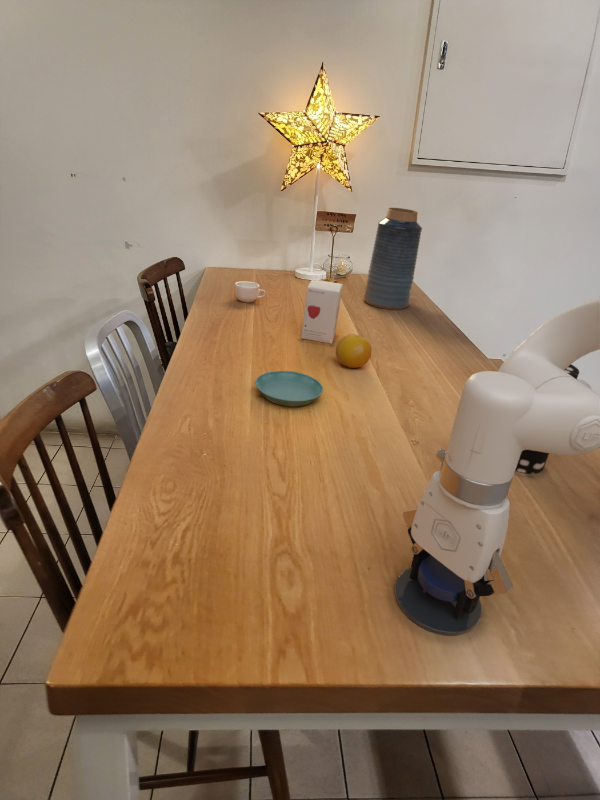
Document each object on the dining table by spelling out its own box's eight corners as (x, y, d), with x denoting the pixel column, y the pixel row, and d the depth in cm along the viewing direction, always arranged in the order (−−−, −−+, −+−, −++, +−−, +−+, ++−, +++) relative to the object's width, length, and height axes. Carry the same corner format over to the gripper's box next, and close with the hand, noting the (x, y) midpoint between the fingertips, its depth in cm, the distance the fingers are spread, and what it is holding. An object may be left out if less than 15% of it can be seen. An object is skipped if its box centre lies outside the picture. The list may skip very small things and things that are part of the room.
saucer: (294, 419, 108) (295, 407, 107) (240, 393, 116) (240, 382, 115) (334, 397, 119) (336, 386, 118) (283, 375, 127) (284, 364, 126)
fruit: (353, 357, 142) (358, 328, 138) (374, 369, 136) (380, 339, 133) (327, 362, 137) (331, 332, 133) (348, 374, 131) (353, 344, 128)
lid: (419, 597, 65) (422, 587, 65) (415, 559, 71) (418, 549, 71) (473, 606, 65) (477, 596, 64) (465, 566, 71) (468, 557, 70)
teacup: (231, 302, 173) (232, 285, 171) (237, 295, 180) (238, 279, 177) (262, 306, 172) (263, 290, 170) (266, 300, 179) (268, 284, 177)
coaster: (472, 576, 74) (473, 572, 74) (488, 643, 64) (489, 639, 64) (393, 562, 75) (394, 559, 75) (396, 626, 65) (397, 623, 65)
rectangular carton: (300, 339, 150) (306, 286, 143) (305, 328, 158) (311, 278, 151) (332, 344, 149) (339, 291, 142) (336, 333, 157) (343, 283, 150)
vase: (402, 298, 199) (420, 209, 185) (413, 312, 185) (434, 216, 170) (359, 294, 197) (374, 204, 183) (367, 308, 183) (383, 211, 169)
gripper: (396, 451, 65) (371, 562, 73) (525, 535, 53) (479, 657, 61) (435, 435, 69) (409, 542, 77) (563, 510, 57) (515, 627, 65)
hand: (440, 592), depth 69 cm, fingers closed on lid, 6 cm apart
